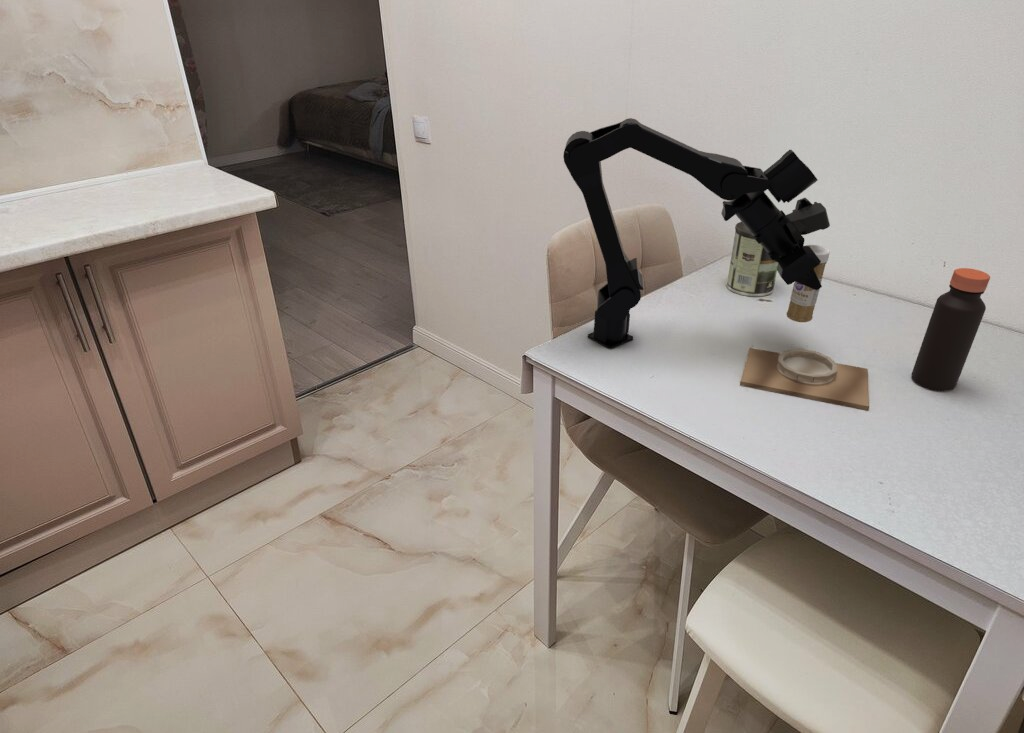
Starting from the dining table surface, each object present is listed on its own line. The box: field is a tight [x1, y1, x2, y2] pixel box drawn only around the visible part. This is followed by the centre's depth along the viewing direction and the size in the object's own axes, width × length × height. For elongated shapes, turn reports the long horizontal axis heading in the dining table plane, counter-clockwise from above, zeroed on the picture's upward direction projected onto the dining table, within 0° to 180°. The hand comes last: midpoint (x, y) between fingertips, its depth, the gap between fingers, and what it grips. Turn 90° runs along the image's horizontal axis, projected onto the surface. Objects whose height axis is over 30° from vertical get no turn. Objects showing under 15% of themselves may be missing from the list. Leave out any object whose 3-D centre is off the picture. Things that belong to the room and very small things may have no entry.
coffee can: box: [726, 221, 778, 298], centre depth 146 cm, size 10×10×14 cm
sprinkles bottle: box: [785, 244, 831, 323], centre depth 119 cm, size 5×5×13 cm
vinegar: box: [911, 267, 991, 392], centre depth 110 cm, size 7×7×20 cm
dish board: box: [739, 347, 870, 411], centre depth 115 cm, size 20×13×2 cm, turn 66°
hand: (815, 283), depth 118 cm, fingers closed on sprinkles bottle, 4 cm apart
